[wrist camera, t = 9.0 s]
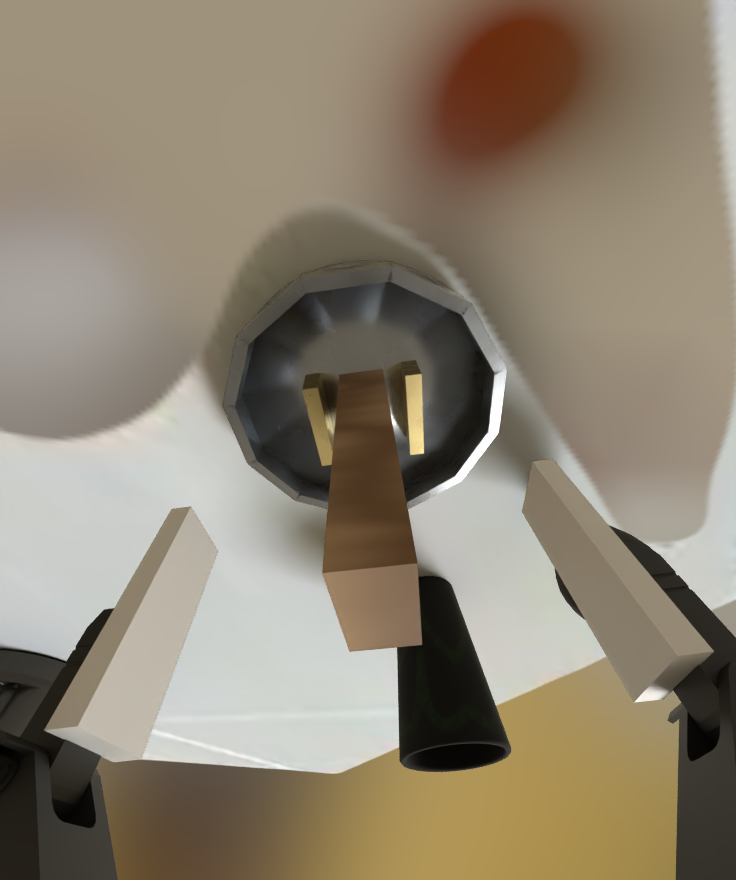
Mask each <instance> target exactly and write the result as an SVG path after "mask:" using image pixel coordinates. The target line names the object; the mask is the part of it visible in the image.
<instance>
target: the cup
mask: <svg viewBox="0 0 736 880" xmlns="http://www.w3.org/2000/svg"><path fill="white" fill-rule="evenodd" d="M418 582H419V599H420V616H421V634H422V645H416V646H405V647H397V659H398V704H399V749H400V762H401V763H402V765H403V766H404V767H407V768H409V769H413V770H417V771H426V772H447V771H459V770H466V769H473V768H478V767H483V766H487V765H490V764H494V763H496V762H498V761H501V760H503V759H505V758H506V757H508V755H509V754H510V753H511V746H510V744H509V741H508V738H507V735H506V733H505V730H504V727H503V724H502V722H501V719H500V717H499V713H498V711H497V708H496V705H495V703H494V700H493V697H492V694H491V692H490V689H489V686H488V683H487V681H486V678H485V675H484V673H483V670H482V667H481V664H480V662H479V659H478V656H477V653H476V651H475V648H474V645H473V643H472V640H471V637H470V634H469V632H468V629H467V626H466V623H465V621H464V618H463V615H462V613H461V610H460V607H459V604H458V602H457V599H456V596H455V593H454V591H453V588H452V586H451V584H450V583H449V582H448V581H446V580H445V579H442V578H439V577H434V576H425V577H418Z"/></svg>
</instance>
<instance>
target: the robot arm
mask: <svg viewBox="0 0 736 880" xmlns="http://www.w3.org/2000/svg"><path fill="white" fill-rule="evenodd" d="M522 513H523V514H524V516H525V518H526V520H527V521H528V523H529V525H530V526H531V528H532V530H533V531H534V533H535V535H536V537H537V538H538V540H539V542H540V543H541V545H542V547H543V548H544V550H545V552H546V554H547V555H548V557H549V559H550V560H551V562H552V564H553V565H554V567H555V569H556V571H557V572H558V574H559V576H560V577H561V579H562V581H563V583H564V584H565V586H566V588H567V589H568V591H569V593H570V594H571V596H572V598H573V600H574V601H575V603H576V605H577V606H578V608H579V610H580V611H581V613H582V615H583V617H584V618H585V620H586V622H587V623H588V625H589V627H590V628H591V630H592V632H593V634H594V635H595V637H596V639H597V640H598V642H599V644H600V646H601V647H602V649H603V651H604V652H605V654H606V656H607V657H608V659H609V661H610V663H611V664H612V666H613V668H614V669H615V671H616V673H617V674H618V676H619V678H620V679H621V681H622V683H623V685H624V686H625V688H626V690H627V691H628V693H629V695H630V696H631V698H632V700H633V702H642V701H650V700H660V699H664V698H665V697H666V696H667V695H668V694H670V693H671V692H672V691H673V690H674V692H675V693H676V695H677V696H678V698H679V699H680V701H681V702H682V703H681V704H680V705H679V706H677V707H676V708H675V709H674V710H673V711H672V712H670V715H669V718H668V721H669V722H671V723H674V722H676V721H677V720H678V719H679V760H678V804H677V849H676V880H736V638H735V637H734V635H733V634H732V633H731V632H730V631H729V630H728V629H727V628H726V627H725V626H724V625H723V623H722V622H721V621H720V620H719V619H718V618H717V617H716V616H715V615H714V613H713V612H712V611H711V610H710V609H709V608H708V607H707V606H706V605H705V604H704V603H703V601H702V600H701V599H700V598H699V597H698V596H697V595H696V594H695V593H694V592H693V591H692V590H690V589H689V588H688V585H687V584H686V583H685V582H684V581H683V580H682V578H681V577H680V576H679V575H676V573H675V571H674V570H673V569H672V568H671V566H670V565H669V564H668V563H667V562H666V561H665V560H664V559H663V558H662V557H661V555H659V554H658V553H656V552H655V551H653V550H652V549H650V548H649V547H647V546H646V545H645V544H643V543H642V542H632V543H623V542H622V541H621V540H620V538H619V537H618V536H617V535H616V534H615V532H614V531H613V530H612V529H611V528H610V526H609V525H608V524H607V523H606V522H605V521H604V519H603V518H602V517H601V516H600V515H599V513H598V512H597V511H596V510H595V509H594V507H593V506H592V505H591V504H590V503H589V501H588V500H587V499H586V498H585V497H584V495H583V494H582V493H581V492H580V491H579V489H578V488H577V487H576V486H575V485H574V483H573V482H572V481H571V480H570V479H569V477H568V476H567V475H566V474H565V473H564V471H563V470H562V469H561V468H560V467H559V466H558V464H557V463H556V462H555V461H554V460H553V459H547V460H540V461H532V466H531V471H530V476H529V480H528V485H527V490H526V495H525V500H524V504H523V509H522ZM217 553H218V550H217V548H216V546H215V545H214V543H213V541H212V540H211V538H210V537H209V535H208V533H207V532H206V530H205V528H204V527H203V525H202V523H201V522H200V520H199V519H198V517H197V515H196V514H195V512H194V510H193V509H192V507H183V508H176V509H171V511H170V513H169V515H168V516H167V518H166V520H165V521H164V523H163V525H162V527H161V528H160V530H159V532H158V534H157V535H156V537H155V539H154V541H153V542H152V544H151V546H150V547H149V549H148V551H147V553H146V554H145V556H144V558H143V560H142V561H141V563H140V565H139V567H138V568H137V570H136V572H135V573H134V575H133V577H132V579H131V580H130V582H129V584H128V586H127V587H126V589H125V591H124V593H123V594H122V596H121V598H120V599H119V601H118V603H117V605H116V606H115V608H113V609H105V610H103V611H102V612H101V614H100V615H99V616H98V617H97V618H96V619H95V620H94V621H93V622H92V623H91V624H90V625H89V626H88V627H87V629H86V631H85V632H84V634H83V635H82V637H81V639H80V640H79V642H78V644H77V645H76V649H75V650H74V651H73V652H72V653H71V655H70V657H69V658H68V660H67V661H66V663H63V662H60V661H57V660H54V659H51V658H47V657H43V656H39V655H34V654H28V653H22V652H15V651H5V650H0V880H118V879H117V873H116V867H115V861H114V855H113V849H112V843H111V837H110V832H109V826H108V820H107V814H106V808H105V802H104V796H103V790H102V784H101V778H100V775H99V773H98V771H97V769H96V767H97V764H98V762H99V760H100V758H101V757H103V758H106V759H108V760H110V761H112V762H119V761H129V760H138V759H142V756H143V753H144V751H145V748H146V745H147V742H148V740H149V737H150V734H151V732H152V729H153V726H154V724H155V721H156V718H157V715H158V713H159V710H160V707H161V705H162V702H163V699H164V696H165V694H166V691H167V688H168V686H169V683H170V680H171V678H172V675H173V672H174V669H175V667H176V664H177V661H178V659H179V656H180V653H181V650H182V648H183V645H184V642H185V640H186V637H187V634H188V632H189V629H190V626H191V623H192V621H193V618H194V615H195V613H196V610H197V607H198V604H199V602H200V599H201V596H202V594H203V591H204V588H205V586H206V583H207V580H208V577H209V575H210V572H211V569H212V567H213V564H214V561H215V558H216V556H217Z"/></svg>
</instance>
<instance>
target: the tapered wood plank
mask: <svg viewBox="0 0 736 880" xmlns="http://www.w3.org/2000/svg"><path fill="white" fill-rule="evenodd" d="M322 574H323V576H324V579H325V582H326V585H327V588H328V591H329V594H330V597H331V600H332V602H333V605H334V608H335V611H336V614H337V617H338V620H339V623H340V625H341V628H342V631H343V634H344V637H345V640H346V643H347V646H348V649H349V651H350V652H352V651H362V650H373V649H384V648H394V647H405V646H416V645H422V634H421V616H420V599H419V582H418V565H417V558H416V553H415V547H414V541H413V536H412V530H411V525H410V519H409V513H408V508H407V502H406V497H405V491H404V485H403V480H402V474H401V469H400V463H399V457H398V452H397V446H396V440H395V435H394V429H393V424H392V418H391V412H390V407H389V401H388V396H387V390H386V384H385V379H384V373H383V369H379V370H371V371H364V372H356V373H348V374H340V375H339V382H338V394H337V406H336V418H335V430H334V441H333V453H332V465H331V477H330V489H329V500H328V512H327V524H326V536H325V548H324V560H323V571H322Z"/></svg>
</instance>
